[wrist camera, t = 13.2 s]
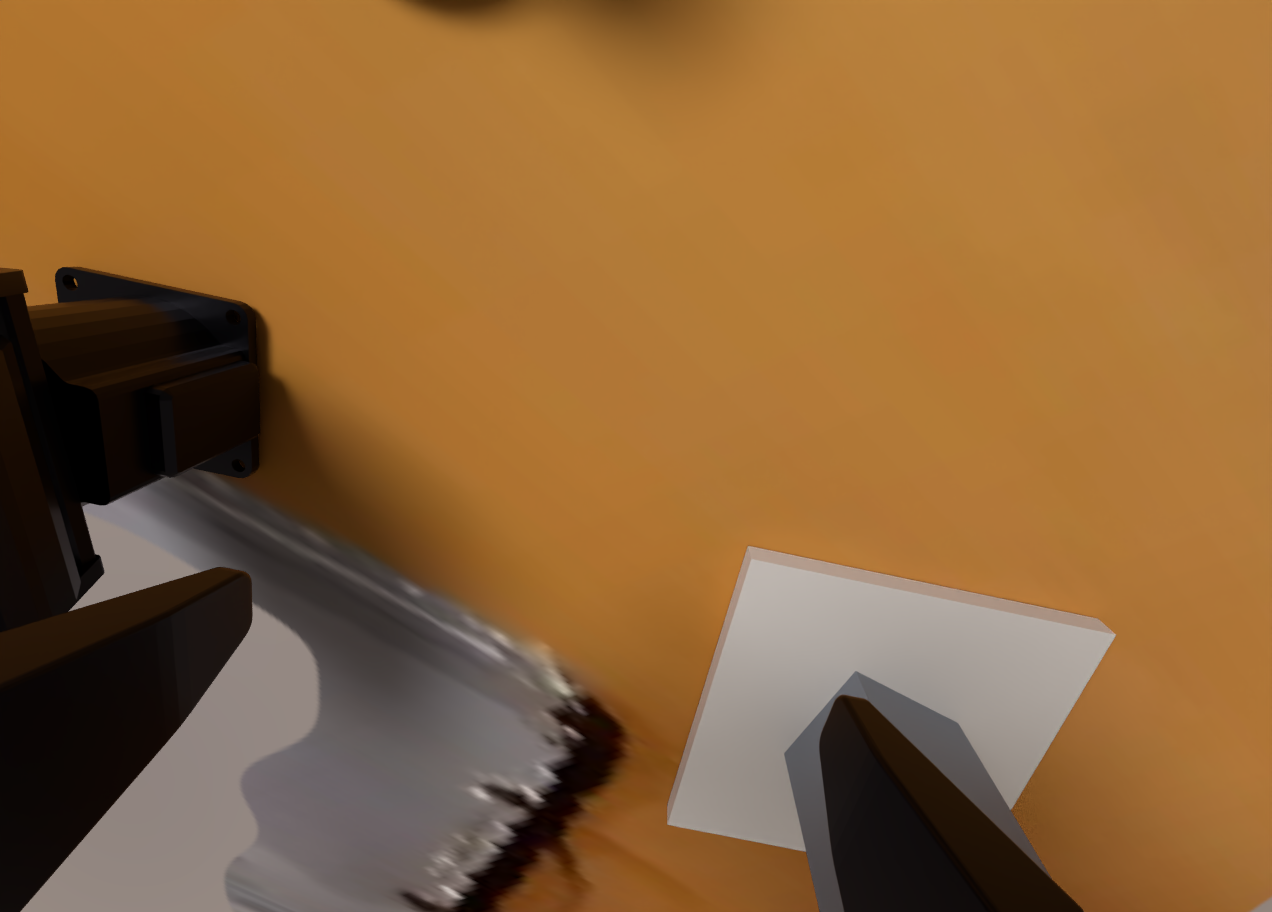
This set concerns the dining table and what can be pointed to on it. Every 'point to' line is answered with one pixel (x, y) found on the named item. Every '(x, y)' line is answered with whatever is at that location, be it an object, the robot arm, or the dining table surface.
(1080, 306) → the dining table surface
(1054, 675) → the white plate
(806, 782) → the tall block
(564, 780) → the dining table surface
